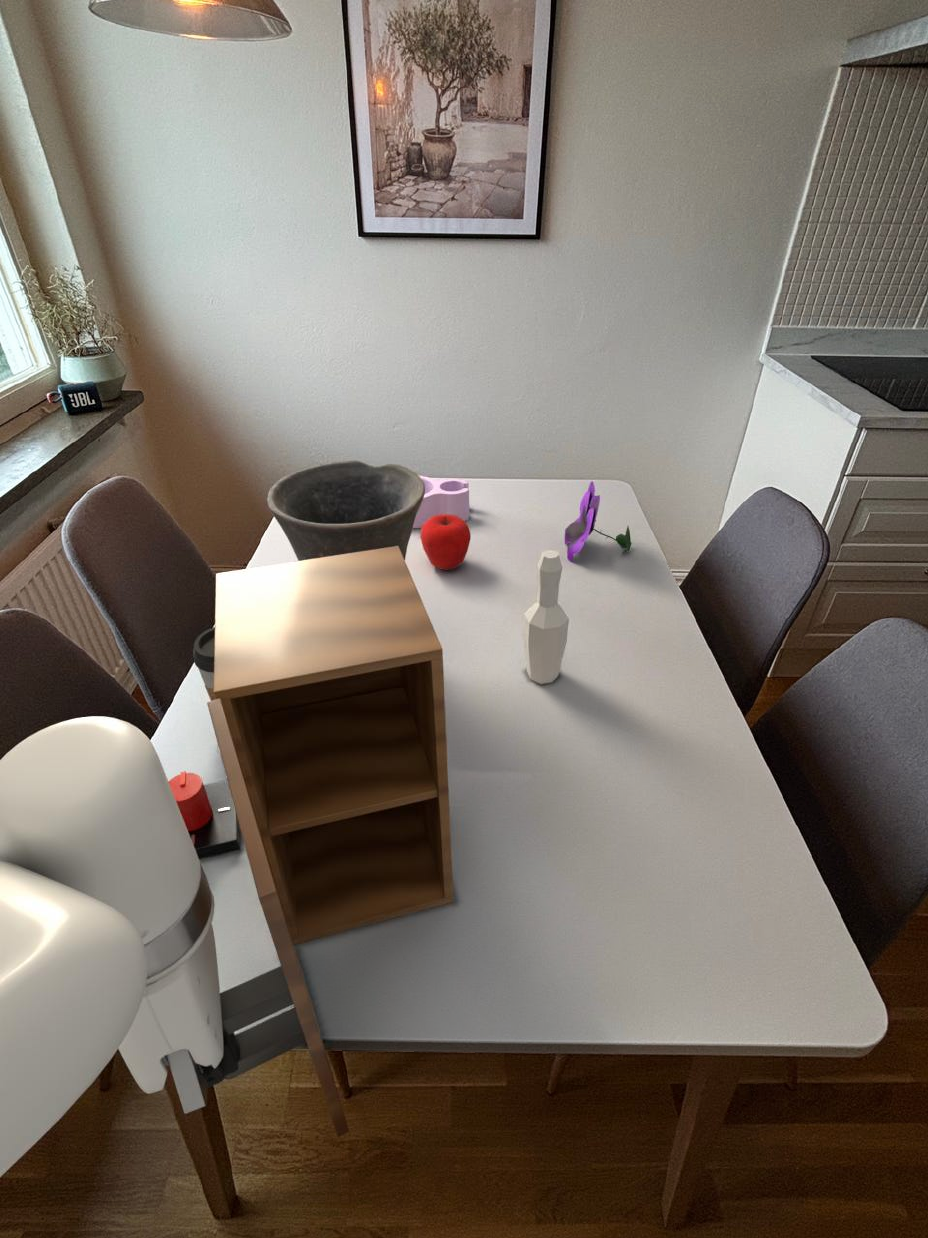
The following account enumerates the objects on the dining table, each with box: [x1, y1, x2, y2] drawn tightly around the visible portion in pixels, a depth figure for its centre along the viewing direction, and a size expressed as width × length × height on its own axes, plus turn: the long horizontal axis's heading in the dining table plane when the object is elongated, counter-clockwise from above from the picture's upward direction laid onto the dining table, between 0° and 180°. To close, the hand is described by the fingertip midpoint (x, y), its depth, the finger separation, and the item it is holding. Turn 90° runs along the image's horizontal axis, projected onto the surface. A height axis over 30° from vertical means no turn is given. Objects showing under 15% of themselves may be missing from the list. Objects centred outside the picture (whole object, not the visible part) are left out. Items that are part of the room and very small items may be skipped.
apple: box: [419, 514, 472, 571], centre depth 133 cm, size 10×10×11 cm
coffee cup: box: [192, 626, 216, 701], centre depth 96 cm, size 8×8×15 cm
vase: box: [266, 460, 425, 561], centre depth 104 cm, size 22×22×30 cm
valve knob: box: [168, 770, 213, 831], centre depth 82 cm, size 4×4×6 cm
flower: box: [564, 480, 633, 563], centre depth 137 cm, size 15×15×14 cm
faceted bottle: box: [522, 549, 570, 685], centre depth 102 cm, size 6×6×22 cm
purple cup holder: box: [412, 475, 470, 529], centre depth 152 cm, size 20×12×7 cm, turn 91°
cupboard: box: [214, 546, 454, 945], centre depth 71 cm, size 18×18×36 cm
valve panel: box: [188, 779, 241, 860], centre depth 85 cm, size 10×10×2 cm
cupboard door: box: [206, 699, 350, 1138], centre depth 54 cm, size 8×18×36 cm, turn 26°
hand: (213, 1053), depth 49 cm, fingers closed on cupboard door, 2 cm apart
